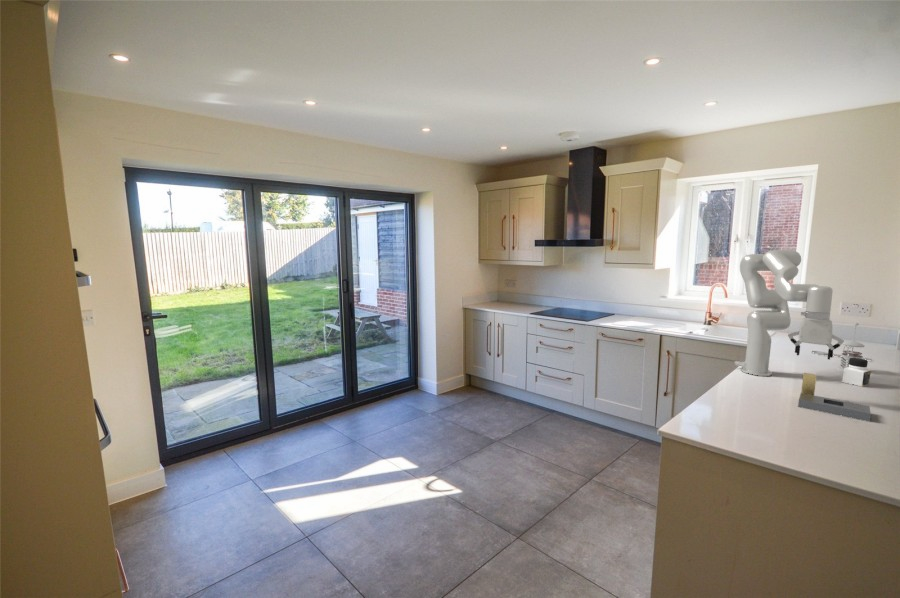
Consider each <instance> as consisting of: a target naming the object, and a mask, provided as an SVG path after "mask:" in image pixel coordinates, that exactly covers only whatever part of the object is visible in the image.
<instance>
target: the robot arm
mask: <svg viewBox="0 0 900 598" xmlns="http://www.w3.org/2000/svg"><path fill="white" fill-rule="evenodd" d="M801 263H802V255H801V254H800V253H799V252H798V251H796V250H793V249H771V250H769V251H767V252H765V253H751V254H747V255H745V256H743V257H742V258H741V260H740V263H739V272H740V275H741V278H742V280H743V283H744V286H745V287H744V288H745V293H746V299H747V303H748V306H749V307H750V308H752V309H757V310H753V311H751V312H749V313H748V315H747V316H746V317H747V318H746V323H747V341H746V342H747V343H746V352H745V361H738V360H737V361H736V360H735V361H734V365H735V366H737V367H740V371H741V372H743V373H744V374H748V373H749V374H748V375H752V374H753V375H752V376H757V375H758V376H759V377H770V376H772V375H773V372H772V371H771V370H769V366H770V358H771V357H770V356H771V349H772V337H771V335H770V334H769V331H783V330H784V331H785V330H787V329H788V328H789V327H790V326H791V316H790V315H791V314H790V308H789V304H788V303H789V302H794V303H795V302H796V303H797V302H800V303H806V305H805V306H806V307H805V311H801V312H800V316H803V318H802V319H801V322H800V326H799V330H798V331H795V332H791V333H788V335H787V337H788V338H789V340H790V341H791V343H793V345H794V346H795V347H794V353H795V354H796V356H800V351H801V344H802V343H805V344H812V345H819V346H821V345H822V346H827V347H828V350H827V351H828V352H827V353H828V356H827V360H831V358H834V356H833V354H834V351H835V350H836V349H838V348H839V347H841V345H842V344H843V343H844V342H845V340H844V339H842V338H841V337H838V336H836V335H835V334H833V321H832V320H831V319H830V316H831V310H832V309H831V308H832V300H833V298H832V297H833V291H834V290H833V288H832V287H830V286H825V285H819V284H811V283H810V284H809V283H805V284H804V283H802V284H801V283H790V282H789V281H791V280H794V279H795V278H796V277H797V276H798V274H799V268H798V267H799V266H800V264H801ZM759 272H771V274H773V275H774V276H775V277H774V280H773V287H774V289H768V288H767V285H766V284H767V283H766V282H767V281H766V280H765V278H764V277H763V276H762V274H761V273H759ZM758 309H760V310H758ZM761 309H762V310H761ZM765 309H766V310H765ZM795 336H798V340H796V339H795V338H794V337H795ZM833 340H835V341H837V343H835V344H832V341H833Z"/></svg>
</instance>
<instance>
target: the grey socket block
mask: <svg viewBox="0 0 900 598" xmlns="http://www.w3.org/2000/svg"><path fill="white" fill-rule="evenodd" d="M797 407H798V408H802V407H803V408H802V409H807V410H812V409H813V410H812V411H816V410H819V411H818V412H821V411H823V412H822V413H826V412H828V413H827V414H831V413H832V414H831V415H836V416H840V415H842V417H845V416H846V418H850V417H852V418H851V419H855V418H856V419H857V420H860V419H861V421H864V420H866V421H865V422H869V421H870V420H871V405H867V404H860V403H855V402H852V401H851V402H849V401H846V400H845V401H844V400H840V399H834V398H830V397H829V398H828V397H825V396H820V395H815V394H814V395H809V394H804V393H801V392H800V394H799V398H798V403H797ZM870 422H871V421H870Z"/></svg>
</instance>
